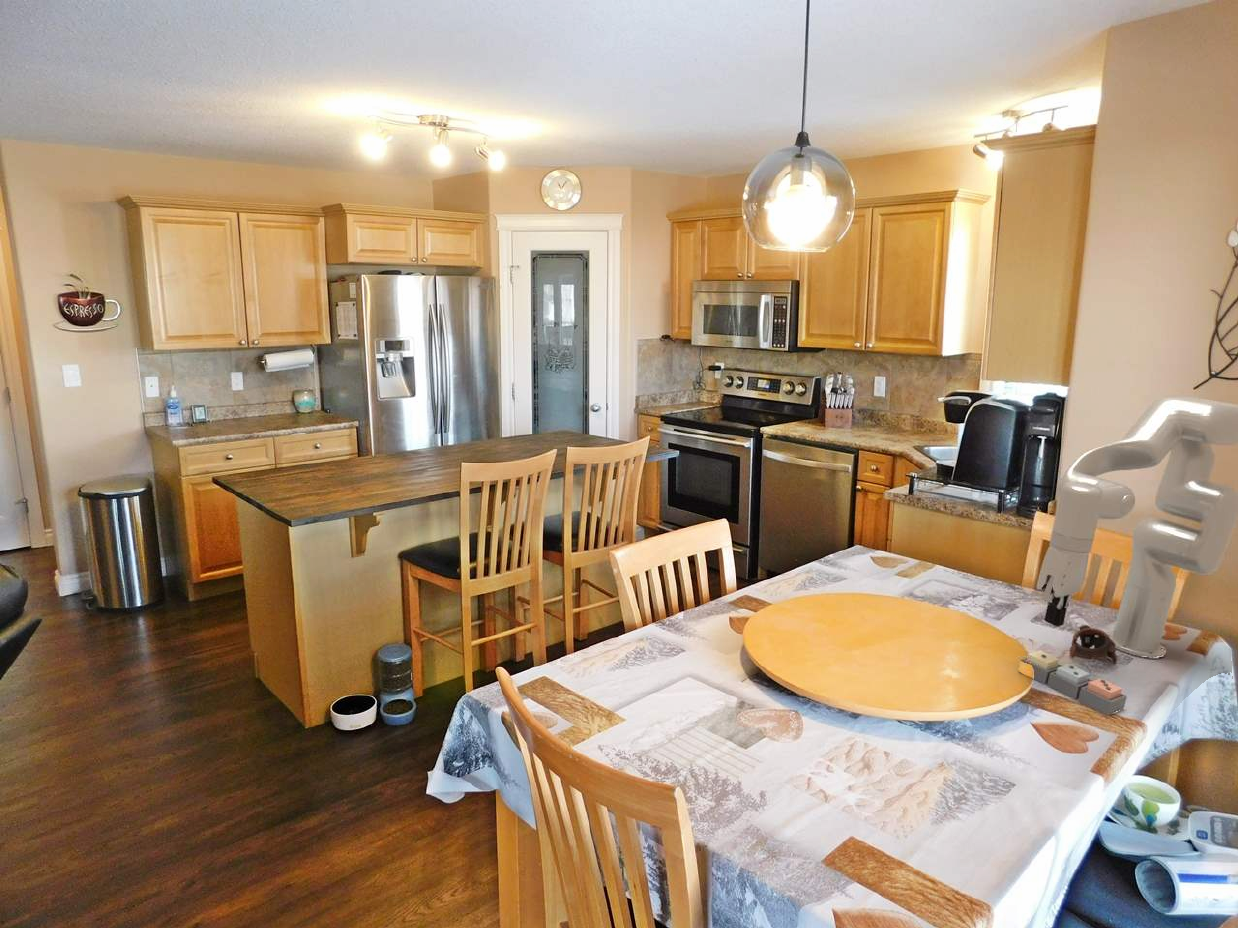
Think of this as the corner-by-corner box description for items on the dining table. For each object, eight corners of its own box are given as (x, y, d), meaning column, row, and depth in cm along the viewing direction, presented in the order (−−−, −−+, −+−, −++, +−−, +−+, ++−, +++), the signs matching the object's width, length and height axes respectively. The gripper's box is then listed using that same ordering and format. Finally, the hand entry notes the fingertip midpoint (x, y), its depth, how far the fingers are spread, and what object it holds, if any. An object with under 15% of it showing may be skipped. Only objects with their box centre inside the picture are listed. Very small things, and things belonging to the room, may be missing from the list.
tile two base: (1062, 680, 172) (1065, 667, 171) (1091, 693, 167) (1094, 680, 166) (1046, 685, 169) (1050, 672, 168) (1075, 699, 164) (1078, 686, 163)
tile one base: (1034, 666, 177) (1036, 654, 177) (1060, 679, 172) (1063, 666, 172) (1018, 671, 174) (1021, 659, 173) (1044, 684, 169) (1047, 671, 168)
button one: (1035, 667, 176) (1040, 649, 175) (1055, 676, 173) (1059, 658, 171) (1024, 670, 174) (1028, 652, 173) (1043, 680, 170) (1048, 661, 169)
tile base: (1093, 694, 167) (1096, 681, 166) (1123, 709, 162) (1127, 695, 161) (1077, 701, 164) (1080, 687, 163) (1107, 715, 159) (1111, 702, 158)
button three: (1095, 695, 166) (1100, 676, 164) (1117, 706, 162) (1122, 687, 161) (1084, 700, 163) (1088, 681, 162) (1106, 711, 160) (1111, 691, 159)
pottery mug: (1127, 673, 180) (1123, 646, 176) (1082, 684, 182) (1077, 657, 178) (1101, 637, 190) (1097, 611, 187) (1059, 647, 192) (1054, 622, 189)
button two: (1064, 681, 171) (1069, 662, 170) (1085, 690, 167) (1090, 672, 166) (1053, 685, 168) (1057, 666, 167) (1073, 695, 165) (1078, 676, 164)
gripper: (1073, 531, 173) (1056, 609, 178) (1032, 540, 165) (1016, 622, 170) (1109, 542, 167) (1090, 623, 172) (1068, 553, 159) (1050, 637, 164)
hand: (1053, 623), depth 171 cm, fingers closed
